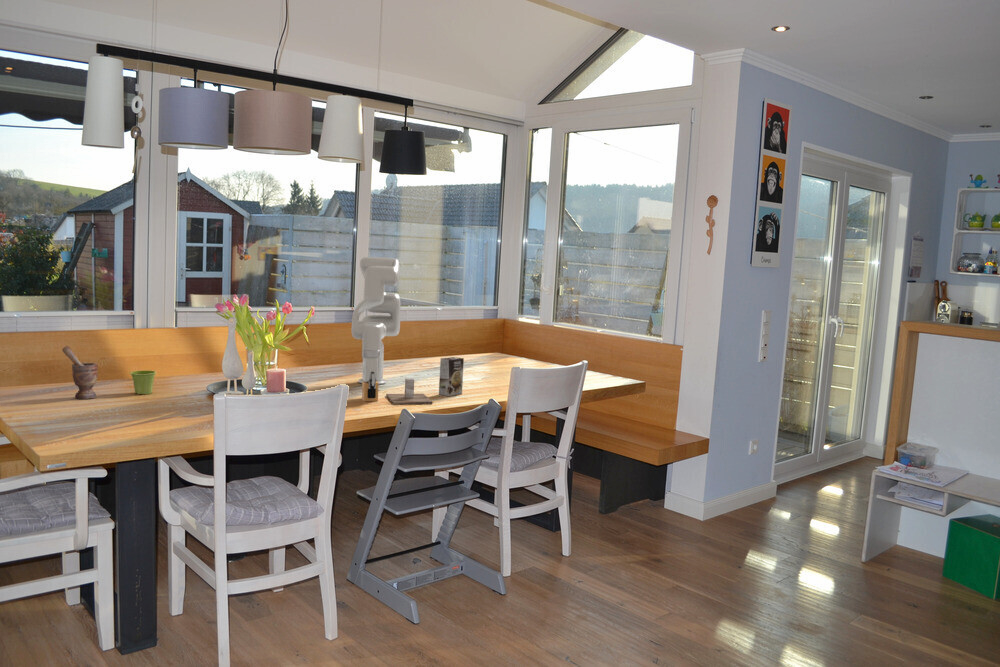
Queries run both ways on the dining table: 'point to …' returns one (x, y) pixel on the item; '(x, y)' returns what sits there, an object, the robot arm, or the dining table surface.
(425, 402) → the post board
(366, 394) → the light brown block
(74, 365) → the mortar and pestle
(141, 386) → the plant pot
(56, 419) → the dining table surface
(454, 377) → the coffee box
